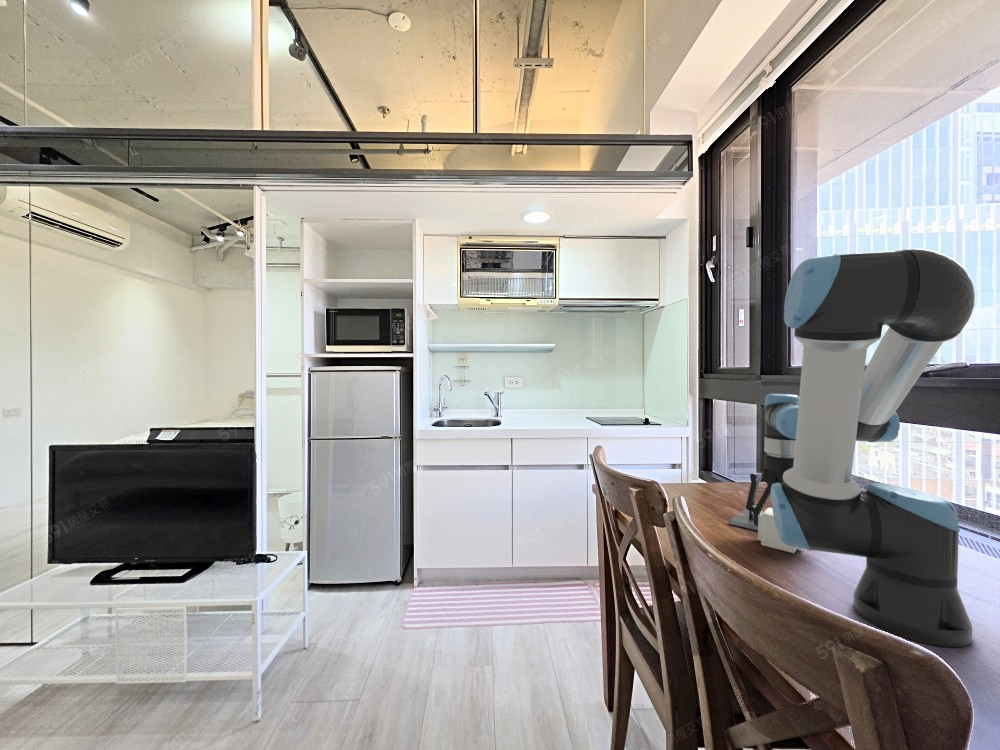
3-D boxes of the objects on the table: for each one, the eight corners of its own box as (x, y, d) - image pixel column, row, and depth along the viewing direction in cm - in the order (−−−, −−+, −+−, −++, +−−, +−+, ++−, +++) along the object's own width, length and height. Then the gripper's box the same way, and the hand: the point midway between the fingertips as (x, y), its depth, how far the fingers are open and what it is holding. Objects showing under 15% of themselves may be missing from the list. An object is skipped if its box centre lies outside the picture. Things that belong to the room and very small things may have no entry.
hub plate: (787, 537, 113) (787, 517, 113) (729, 523, 123) (730, 505, 123) (798, 524, 123) (798, 505, 123) (744, 512, 133) (744, 495, 133)
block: (794, 553, 103) (794, 517, 103) (761, 544, 108) (761, 511, 108) (800, 544, 109) (801, 510, 109) (769, 536, 114) (769, 504, 113)
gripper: (835, 458, 103) (834, 552, 103) (740, 447, 118) (739, 529, 118) (830, 463, 98) (829, 561, 98) (732, 451, 113) (731, 536, 113)
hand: (780, 543), depth 108 cm, fingers open, 8 cm apart
